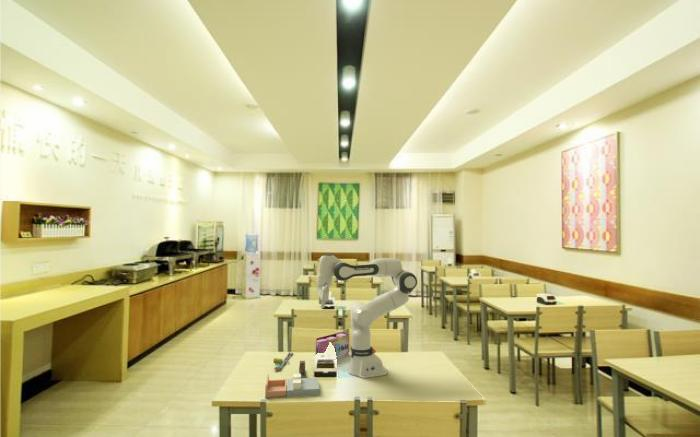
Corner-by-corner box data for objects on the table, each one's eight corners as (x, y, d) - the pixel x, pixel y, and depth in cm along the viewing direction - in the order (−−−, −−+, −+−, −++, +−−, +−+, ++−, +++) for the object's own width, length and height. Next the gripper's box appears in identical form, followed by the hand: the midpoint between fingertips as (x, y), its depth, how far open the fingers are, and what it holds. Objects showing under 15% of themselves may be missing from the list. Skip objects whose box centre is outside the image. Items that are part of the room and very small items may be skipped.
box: (286, 384, 181) (286, 373, 181) (286, 396, 168) (286, 384, 169) (267, 385, 180) (267, 374, 180) (265, 398, 167) (265, 385, 167)
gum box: (320, 364, 210) (321, 341, 211) (313, 360, 216) (313, 338, 217) (349, 355, 227) (349, 334, 227) (341, 351, 232) (341, 331, 233)
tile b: (300, 385, 175) (301, 379, 175) (301, 388, 171) (301, 382, 171) (292, 385, 174) (293, 379, 174) (292, 389, 170) (293, 383, 170)
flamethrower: (266, 370, 199) (283, 372, 198) (266, 366, 199) (283, 368, 198) (280, 353, 228) (295, 355, 227) (281, 349, 228) (295, 351, 227)
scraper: (304, 370, 201) (304, 355, 201) (305, 384, 183) (305, 368, 184) (299, 370, 201) (299, 356, 201) (299, 384, 183) (299, 368, 183)
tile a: (300, 379, 181) (300, 373, 182) (300, 382, 178) (300, 376, 178) (293, 379, 181) (293, 373, 181) (293, 383, 177) (293, 377, 177)
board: (317, 383, 184) (317, 377, 184) (319, 394, 171) (319, 388, 171) (287, 384, 181) (287, 379, 181) (286, 396, 168) (286, 390, 169)
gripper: (332, 285, 189) (329, 310, 188) (326, 279, 209) (324, 302, 208) (321, 284, 188) (318, 309, 187) (316, 278, 208) (313, 301, 207)
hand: (321, 305), depth 198 cm, fingers open, 8 cm apart
